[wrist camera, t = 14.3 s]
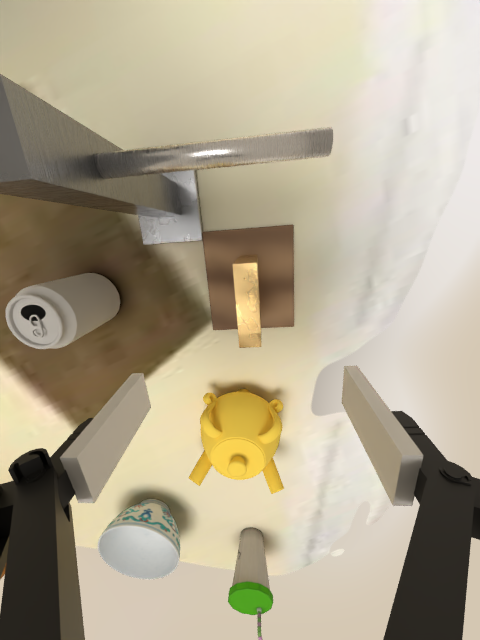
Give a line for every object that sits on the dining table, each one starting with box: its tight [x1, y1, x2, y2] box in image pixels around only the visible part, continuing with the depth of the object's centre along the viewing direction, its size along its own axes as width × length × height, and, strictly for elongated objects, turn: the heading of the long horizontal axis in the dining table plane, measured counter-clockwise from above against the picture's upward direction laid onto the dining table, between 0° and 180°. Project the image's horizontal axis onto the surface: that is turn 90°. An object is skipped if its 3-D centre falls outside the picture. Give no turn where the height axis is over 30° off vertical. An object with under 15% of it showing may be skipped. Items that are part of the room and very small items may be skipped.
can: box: [6, 273, 120, 349], centre depth 32 cm, size 8×8×12 cm
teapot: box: [189, 389, 284, 494], centre depth 38 cm, size 14×14×11 cm
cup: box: [228, 528, 273, 640], centre depth 46 cm, size 8×8×15 cm
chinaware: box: [98, 499, 180, 579], centre depth 49 cm, size 15×15×8 cm
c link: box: [233, 255, 261, 348], centre depth 31 cm, size 9×2×10 cm, turn 4°
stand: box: [0, 74, 333, 245], centre depth 21 cm, size 10×20×24 cm, turn 94°
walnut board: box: [202, 225, 294, 330], centre depth 35 cm, size 14×12×1 cm
